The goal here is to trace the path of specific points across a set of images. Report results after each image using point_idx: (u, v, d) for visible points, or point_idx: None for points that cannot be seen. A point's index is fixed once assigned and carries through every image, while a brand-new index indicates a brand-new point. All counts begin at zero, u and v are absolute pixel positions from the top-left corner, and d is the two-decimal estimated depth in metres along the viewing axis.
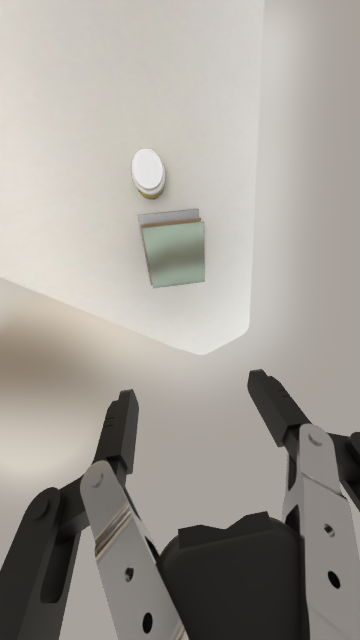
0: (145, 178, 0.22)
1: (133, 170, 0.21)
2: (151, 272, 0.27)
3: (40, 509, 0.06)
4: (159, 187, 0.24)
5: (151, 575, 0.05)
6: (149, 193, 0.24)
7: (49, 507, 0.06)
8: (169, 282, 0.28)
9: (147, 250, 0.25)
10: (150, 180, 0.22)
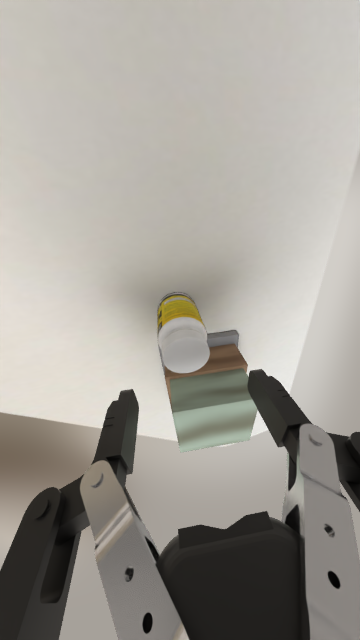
0: (182, 365, 0.14)
1: (164, 360, 0.14)
2: (180, 442, 0.20)
3: (40, 509, 0.06)
4: None
5: (151, 575, 0.05)
6: None
7: (49, 507, 0.06)
8: (202, 446, 0.21)
9: (177, 428, 0.18)
10: (189, 367, 0.14)
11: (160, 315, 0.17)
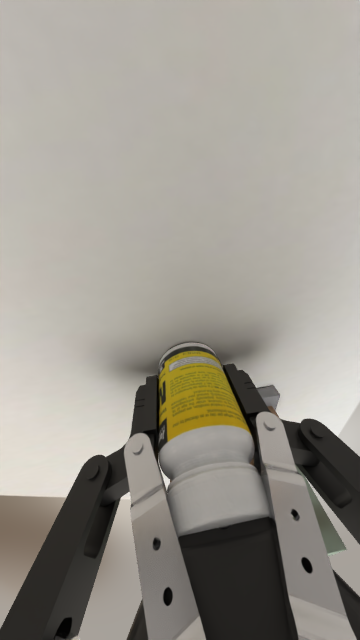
0: None
1: None
2: None
3: (92, 471, 0.07)
4: None
5: (176, 556, 0.05)
6: None
7: (100, 470, 0.07)
8: None
9: None
10: None
11: (163, 396, 0.09)
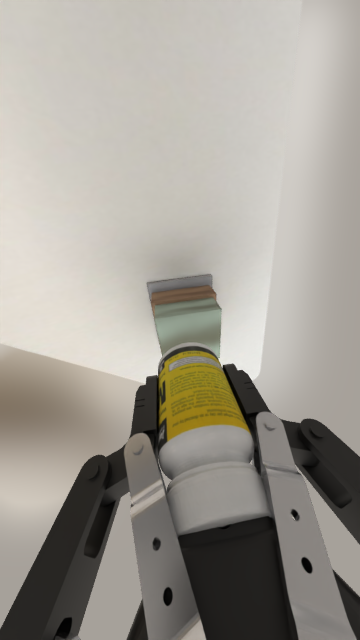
0: None
1: None
2: (163, 354, 0.25)
3: (92, 472, 0.07)
4: None
5: (176, 556, 0.05)
6: None
7: (100, 470, 0.07)
8: None
9: (159, 336, 0.23)
10: None
11: (163, 396, 0.09)
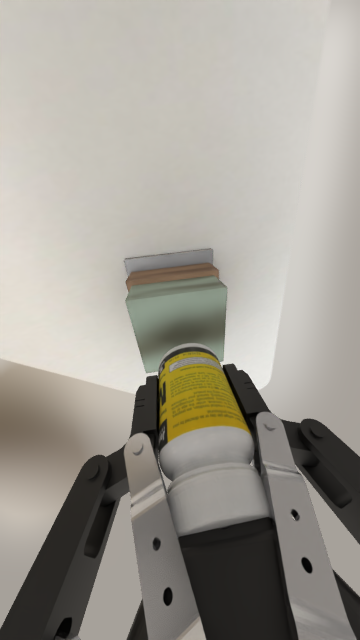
0: None
1: None
2: (142, 355, 0.18)
3: (92, 472, 0.07)
4: None
5: (176, 556, 0.05)
6: None
7: (100, 470, 0.07)
8: None
9: (135, 329, 0.16)
10: None
11: (163, 397, 0.09)
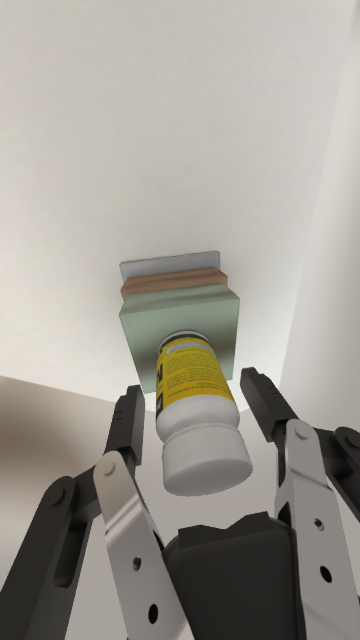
0: (200, 489, 0.08)
1: (168, 487, 0.07)
2: (140, 374, 0.15)
3: (57, 495, 0.06)
4: None
5: (158, 568, 0.05)
6: None
7: (64, 494, 0.06)
8: None
9: (131, 346, 0.14)
10: (213, 488, 0.08)
11: (160, 375, 0.11)
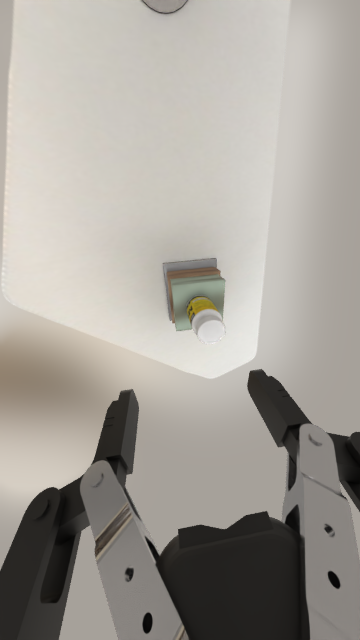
0: (208, 338, 0.23)
1: (198, 334, 0.23)
2: (176, 318, 0.31)
3: (40, 509, 0.06)
4: None
5: (151, 575, 0.05)
6: None
7: (49, 507, 0.06)
8: None
9: (174, 302, 0.29)
10: (212, 339, 0.23)
11: (191, 309, 0.26)
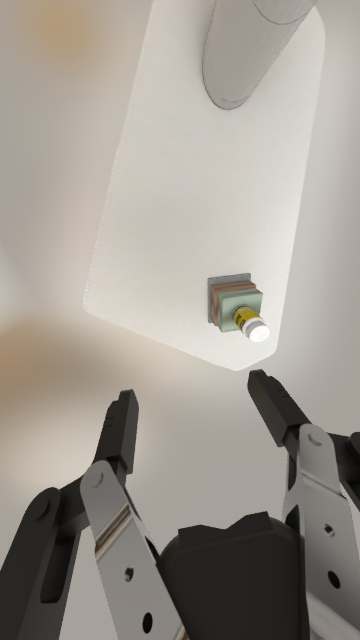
0: (256, 338, 0.32)
1: (250, 335, 0.32)
2: (222, 323, 0.40)
3: (40, 509, 0.06)
4: None
5: (151, 575, 0.05)
6: None
7: (49, 507, 0.06)
8: (233, 328, 0.41)
9: (223, 310, 0.38)
10: (259, 339, 0.32)
11: (240, 316, 0.35)
